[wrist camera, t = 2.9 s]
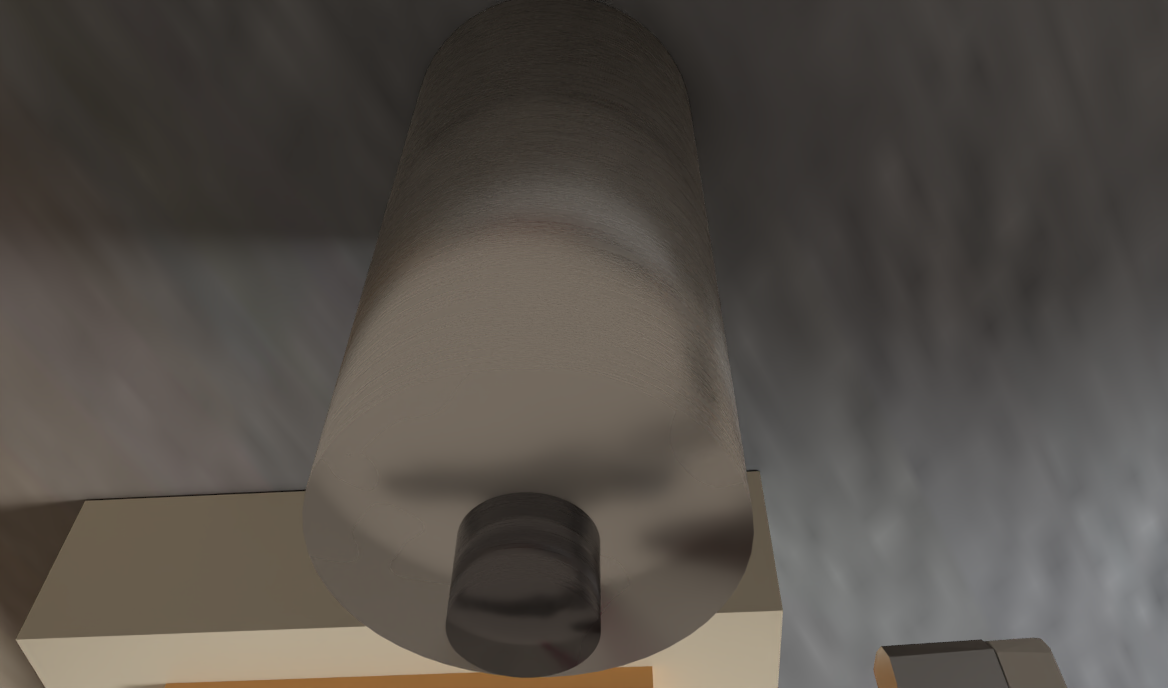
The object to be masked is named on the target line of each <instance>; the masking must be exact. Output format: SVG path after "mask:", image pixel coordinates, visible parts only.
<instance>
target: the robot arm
mask: <svg viewBox="0 0 1168 688" xmlns="http://www.w3.org/2000/svg"><path fill="white" fill-rule="evenodd" d="M874 674H875V677H876V681H877V685H878V688H1067V685H1066V683H1065V681H1064V679H1063V676H1062V674H1061V672H1060V670H1059V667H1058V665H1057V663H1056V661H1055V658H1054V656H1053V654H1052V651H1051V649H1050V647H1049V646H1048V645H1047V644H1046V643H1045V642H1044V641H1043V640H1042V639H1040V638H1022V639H1007V640H993V641H983V640H982V639H980V640H966V641H951V642H936V643H921V644H906V645H891V646H881V647H880V648H879V650H878V651H877V653H876V658H875V664H874Z"/></svg>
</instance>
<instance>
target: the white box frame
mask: <svg viewBox="0 0 1168 688" xmlns="http://www.w3.org/2000/svg"><path fill="white" fill-rule="evenodd" d="M747 479H748V485H749V492H750V498H751V505H752V511H753V526H754V537H753V544H752V552H751V556H750V559H749V562H748V565H747V568H746V571H745V573H744V575H743V577H742V579H741V581H740V582H739V584H738V586H737V588H736V590H735V591H734V593H733V594H732V595H731V597H730V598H729V599H728V600H727V602H726V603H725V604H724V606H723V607H722V608H721V609H720V610H719V611H718V612H717V613H716V614H715V615H714V616H713V617H712V618H711V619H710V620H709V621H708V622H706V623H705V624H704V625H703V626H701V627H700V628H699V629H697V630H696V631H695V632H693V633H692V634H691V635H689V636H688V637H686V638H684V639H682V640H681V641H679V642H677V643H676V644H674V645H672V646H671V647H669V648H667V649H664V650H662V651H660V652H658V653H656V654H653V655H651V656H649V657H647V658H644V659H641V660H638V661H635V662H632V663H629V664H626V665H623V666H619V667H615V668H611V669H607V670H603V671H598V672H592V673H585V674H579V675H571V676H557V677H534V678H519V677H509V676H503V675H494V674H488V673H482V672H476V671H470V670H466V669H462V668H458V667H454V666H450V665H446V664H443V663H440V662H437V661H434V660H431V659H428V658H425V657H422V656H420V655H418V654H415V653H413V652H411V651H409V650H406V649H404V648H402V647H400V646H398V645H396V644H394V643H392V642H391V641H389V640H387V639H385V638H383V637H382V636H380V635H378V634H377V633H375V632H374V631H372V630H371V629H370V628H368V627H367V626H365V625H364V624H363V623H361V622H360V621H358V620H357V619H356V618H355V617H354V616H353V615H352V614H351V613H350V612H348V611H347V610H346V609H345V608H344V607H343V606H342V605H341V604H340V603H339V602H338V601H337V599H336V598H335V597H334V596H333V595H332V594H331V592H330V591H329V590H328V589H327V587H326V586H325V584H324V583H323V581H322V580H321V578H320V576H319V575H318V573H317V572H316V570H315V567H314V565H313V563H312V561H311V558H310V556H309V554H308V551H307V546H306V542H305V538H304V534H303V518H302V510H303V503H304V497H305V491H296V492H274V493H251V494H228V495H205V496H183V497H160V498H137V499H114V500H92V501H85V502H84V504H83V506H82V508H81V510H80V512H79V514H78V516H77V518H76V520H75V522H74V524H73V526H72V528H71V530H70V532H69V534H68V536H67V538H66V540H65V542H64V544H63V546H62V548H61V550H60V552H59V554H58V556H57V558H56V560H55V562H54V564H53V566H52V568H51V570H50V572H49V574H48V576H47V578H46V580H45V582H44V584H43V586H42V588H41V590H40V592H39V594H38V596H37V598H36V600H35V602H34V604H33V606H32V608H31V610H30V612H29V614H28V616H27V618H26V620H25V622H24V624H23V626H22V628H21V630H20V632H19V634H18V636H17V638H16V641H17V643H18V644H19V646H20V648H21V649H22V651H23V652H24V654H25V656H26V657H27V659H28V660H29V662H30V664H31V665H32V667H33V668H34V670H35V672H36V673H37V675H38V676H39V678H40V680H41V681H42V683H43V684H44V686H45V688H778V676H779V661H780V646H781V631H782V616H783V608H782V602H781V596H780V590H779V585H778V579H777V573H776V567H775V561H774V555H773V549H772V543H771V537H770V531H769V525H768V519H767V513H766V507H765V501H764V495H763V489H762V483H761V477H760V471H751V472H747Z"/></svg>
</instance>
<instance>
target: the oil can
mask: <svg viewBox="0 0 1168 688" xmlns="http://www.w3.org/2000/svg"><path fill="white" fill-rule="evenodd" d="M302 518H303V534H304V538H305V542H306V546H307V551H308V554H309V556H310V558H311V561H312V563H313V565H314V567H315V570H316V572H317V573H318V575H319V576H320V578H321V580H322V581H323V583H324V584H325V586H326V587H327V589H328V590H329V591H330V592H331V594H332V595H333V596H334V597H335V598H336V599H337V601H338V602H339V603H340V604H341V605H342V606H343V607H344V608H345V609H346V610H347V611H348V612H350V613H351V614H352V615H353V616H354V617H355V618H356V619H357V620H358V621H360V622H361V623H363V624H364V625H365V626H367V627H368V628H370V629H371V630H372V631H374V632H375V633H377V634H378V635H380V636H382V637H383V638H385V639H387V640H389V641H391V642H392V643H394V644H396V645H398V646H400V647H402V648H404V649H406V650H409V651H411V652H413V653H415V654H418V655H420V656H422V657H425V658H428V659H431V660H434V661H437V662H440V663H443V664H446V665H450V666H454V667H458V668H462V669H466V670H470V671H476V672H482V673H488V674H494V675H503V676H509V677H519V678H534V677H557V676H571V675H579V674H585V673H592V672H598V671H603V670H607V669H611V668H615V667H619V666H623V665H626V664H629V663H632V662H635V661H638V660H641V659H644V658H647V657H649V656H651V655H653V654H656V653H658V652H660V651H662V650H664V649H667V648H669V647H671V646H672V645H674V644H676V643H677V642H679V641H681V640H682V639H684V638H686V637H688V636H689V635H691V634H692V633H693V632H695V631H696V630H697V629H699V628H700V627H701V626H703V625H704V624H705V623H706V622H708V621H709V620H710V619H711V618H712V617H713V616H714V615H715V614H716V613H717V612H718V611H719V610H720V609H721V608H722V607H723V606H724V604H725V603H726V602H727V600H728V599H729V598H730V597H731V595H732V594H733V593H734V591H735V590H736V588H737V586H738V584H739V582H740V581H741V579H742V577H743V575H744V573H745V571H746V568H747V565H748V562H749V559H750V556H751V552H752V544H753V537H754V526H753V511H752V505H751V498H750V492H749V485H748V479H747V472H746V466H745V459H744V453H743V447H742V440H741V434H740V427H739V421H738V414H737V408H736V401H735V395H734V388H733V382H732V375H731V369H730V362H729V356H728V349H727V343H726V336H725V330H724V323H723V317H722V310H721V304H720V297H719V291H718V284H717V278H716V271H715V265H714V259H713V252H712V246H711V239H710V233H709V226H708V220H707V213H706V207H705V200H704V194H703V187H702V181H701V174H700V168H699V161H698V155H697V148H696V142H695V135H694V129H693V122H692V116H691V109H690V103H689V99H688V95H687V90H686V87H685V84H684V81H683V79H682V76H681V74H680V71H679V70H678V68H677V66H676V64H675V62H674V61H673V59H672V57H671V56H670V54H669V53H668V52H667V50H666V49H665V48H664V46H663V45H662V44H661V42H660V41H659V40H658V39H657V38H656V37H655V36H654V35H653V34H652V33H651V32H650V31H649V30H647V29H646V28H645V27H644V26H642V25H641V24H640V23H638V22H637V21H636V20H634V19H633V18H631V17H630V16H628V15H626V14H624V13H622V12H621V11H619V10H617V9H615V8H613V7H610V6H608V5H605V4H603V3H600V2H597V1H593V0H510V1H506V2H503V3H500V4H498V5H496V6H493V7H491V8H488V9H486V10H484V11H483V12H481V13H479V14H478V15H476V16H474V17H472V18H471V19H469V20H468V21H467V22H466V23H464V24H463V25H462V26H461V27H459V28H458V29H457V30H456V31H455V32H454V33H453V34H452V35H451V36H450V37H449V38H448V39H447V40H446V41H445V42H444V44H443V45H442V46H441V48H440V49H439V51H438V52H437V53H436V55H435V56H434V58H433V60H432V62H431V64H430V66H429V68H428V70H427V71H426V74H425V77H424V80H423V83H422V86H421V89H420V93H419V96H418V100H417V103H416V107H415V110H414V114H413V117H412V121H411V124H410V128H409V131H408V134H407V138H406V141H405V145H404V148H403V152H402V155H401V159H400V162H399V166H398V169H397V173H396V176H395V180H394V183H393V187H392V190H391V194H390V197H389V201H388V204H387V208H386V211H385V215H384V218H383V222H382V225H381V229H380V232H379V236H378V239H377V243H376V246H375V250H374V253H373V257H372V260H371V264H370V267H369V271H368V274H367V278H366V281H365V285H364V288H363V292H362V295H361V299H360V302H359V306H358V309H357V313H356V316H355V320H354V323H353V327H352V330H351V334H350V337H349V341H348V344H347V348H346V351H345V355H344V358H343V362H342V365H341V369H340V372H339V376H338V379H337V383H336V386H335V390H334V393H333V397H332V400H331V403H330V407H329V410H328V414H327V417H326V421H325V424H324V428H323V431H322V435H321V438H320V442H319V445H318V449H317V452H316V456H315V459H314V463H313V466H312V470H311V473H310V477H309V480H308V484H307V487H306V491H305V497H304V503H303V510H302Z"/></svg>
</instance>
